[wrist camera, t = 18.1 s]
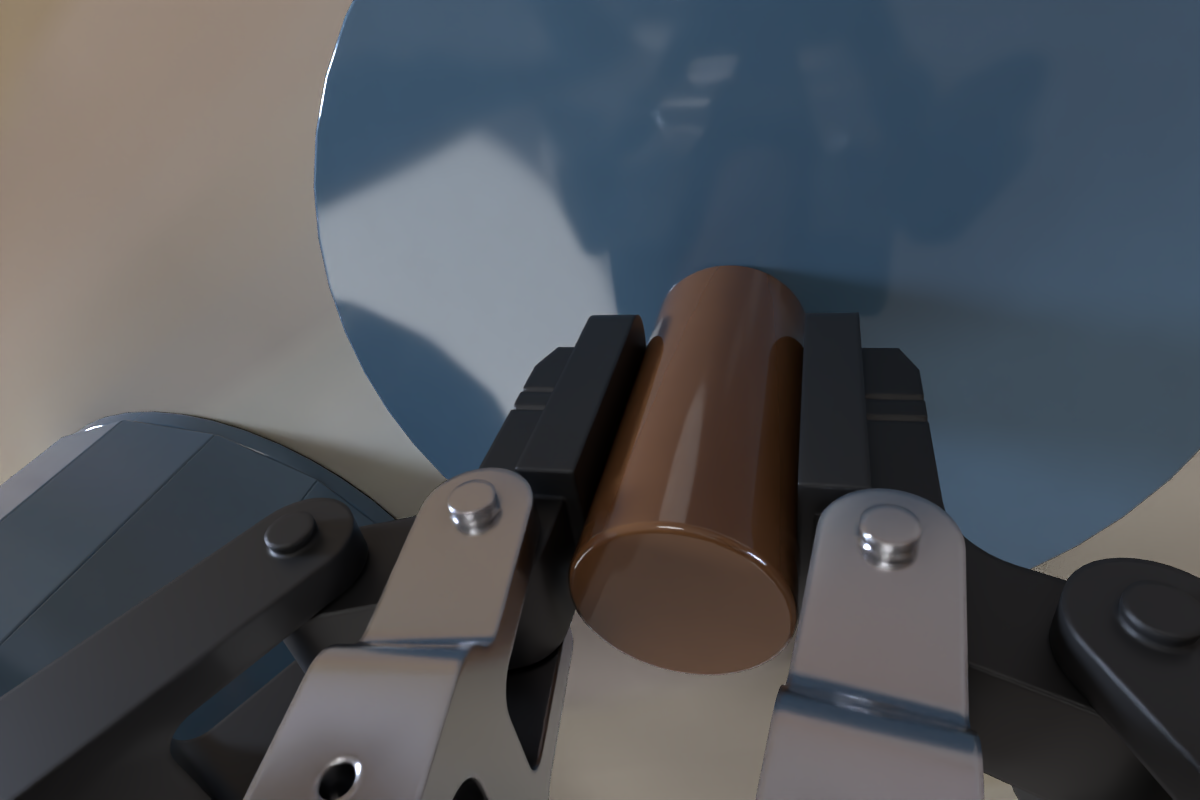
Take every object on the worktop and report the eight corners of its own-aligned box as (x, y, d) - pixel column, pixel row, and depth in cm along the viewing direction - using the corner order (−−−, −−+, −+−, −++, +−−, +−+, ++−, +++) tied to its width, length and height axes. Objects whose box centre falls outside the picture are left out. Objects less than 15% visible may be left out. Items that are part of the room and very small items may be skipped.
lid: (312, 402, 17) (88, 649, 12) (441, -546, 8) (-375, -1366, 2) (865, 655, 18) (881, 992, 12) (1617, 69, 8) (2943, 456, 3)
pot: (84, 604, 27) (-157, 852, 20) (24, 327, 18) (-439, 609, 11) (423, 751, 27) (296, 1040, 21) (525, 554, 18) (361, 946, 12)
